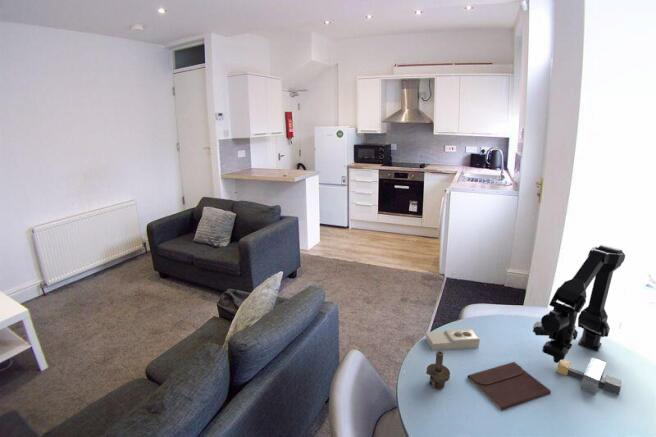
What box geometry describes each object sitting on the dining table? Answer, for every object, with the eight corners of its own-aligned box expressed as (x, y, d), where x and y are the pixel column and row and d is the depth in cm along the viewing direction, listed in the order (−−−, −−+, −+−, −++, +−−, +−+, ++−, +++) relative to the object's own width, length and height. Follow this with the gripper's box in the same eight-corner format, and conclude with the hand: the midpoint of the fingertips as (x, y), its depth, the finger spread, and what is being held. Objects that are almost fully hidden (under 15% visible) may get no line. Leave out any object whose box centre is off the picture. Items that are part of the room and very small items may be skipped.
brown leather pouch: (550, 395, 117) (551, 390, 117) (501, 412, 111) (502, 406, 110) (512, 365, 131) (513, 360, 130) (467, 379, 124) (467, 374, 124)
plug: (558, 365, 130) (560, 358, 129) (619, 388, 120) (621, 380, 119) (556, 371, 127) (558, 364, 126) (618, 395, 117) (620, 387, 116)
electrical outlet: (426, 330, 144) (471, 328, 146) (425, 339, 145) (470, 337, 147) (433, 341, 137) (480, 338, 139) (432, 351, 138) (478, 348, 140)
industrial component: (440, 374, 125) (443, 344, 122) (454, 389, 119) (457, 357, 116) (416, 381, 123) (418, 349, 119) (428, 396, 116) (431, 363, 113)
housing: (588, 370, 128) (591, 357, 126) (602, 376, 125) (606, 362, 123) (580, 388, 119) (583, 374, 118) (595, 395, 117) (599, 380, 115)
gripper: (546, 304, 136) (538, 341, 140) (529, 323, 123) (521, 363, 128) (582, 315, 129) (573, 354, 133) (568, 337, 116) (558, 379, 120)
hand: (555, 362), depth 129 cm, fingers closed
